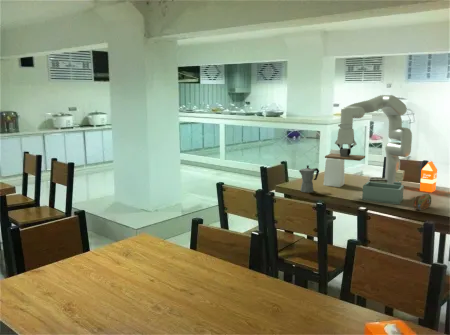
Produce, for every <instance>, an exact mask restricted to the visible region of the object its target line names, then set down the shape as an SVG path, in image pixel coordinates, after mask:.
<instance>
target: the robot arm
mask: <svg viewBox="0 0 450 335" xmlns="http://www.w3.org/2000/svg"><path fill="white" fill-rule="evenodd" d="M378 110H382V113H383V114H384V115H385V117H387V119H388V138H389V140H391V141H389V142H388V143H386V145H385V147H384V150H385V171H384V172H385V173H384V178H386V179H387V180H388V182H387V184H394V181H395V178H396V172H397V171H398V170H401V160H400V157H401V158H406V157H407V158H408V157H409V156H410V154H411V152H412V143H413V142H412V140H413V133H412V130H411V129H410V128H408V127H403V120H402V116H404V115H405V114H406V113H407V110H408V109H407V106H406V104H405V103H404V102H403V101H402V100H401V99H399V98H398V97H396V96H395V95H393V94H390V95H389V94H380V95H377V96H375V97H372V98H369V99H367V100H364V101H359V102H354V103H352V104H349V105H347V106H344V107H342V108H341V109H340V123H339V124H338V126H337V127H339V128H338V131H337V136H336V137H337V138H336V141H334V144H335V145H336V146H338V148H339V150H340V152H341V149H343V146H344V145H348V147H347V148H348V155H352V154H351V153H352V149H353V148H354V147H355V146H356V145H357V141H356V140H355V130H354V128H353V127H354V126H353V125H354V124H353V123H354V121H353V120H354V119H361V118H363V117H364V116H365V114H368V113H369V114H370V113H374V112H377V111H378ZM397 182H400V181H397Z"/></svg>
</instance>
